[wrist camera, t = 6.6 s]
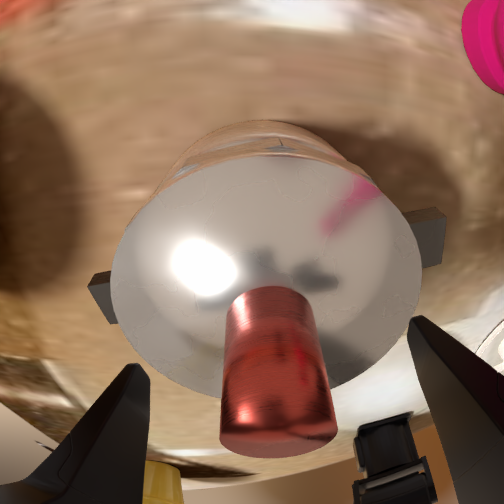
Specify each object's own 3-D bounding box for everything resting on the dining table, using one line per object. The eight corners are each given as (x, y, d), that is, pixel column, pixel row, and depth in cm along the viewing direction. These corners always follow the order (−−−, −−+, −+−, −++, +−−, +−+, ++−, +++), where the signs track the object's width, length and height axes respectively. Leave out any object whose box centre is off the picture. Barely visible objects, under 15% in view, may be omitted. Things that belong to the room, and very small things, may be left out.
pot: (395, 99, 13) (469, 123, 8) (399, 275, 19) (438, 345, 14) (91, 166, 15) (27, 219, 10) (161, 319, 21) (141, 395, 15)
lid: (402, 120, 9) (544, 196, 4) (392, 348, 15) (430, 454, 9) (81, 189, 10) (-28, 305, 5) (182, 382, 16) (168, 490, 10)
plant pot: (114, 450, 35) (103, 508, 27) (183, 459, 35) (177, 522, 27) (137, 472, 41) (130, 521, 32) (197, 479, 41) (194, 530, 32)
